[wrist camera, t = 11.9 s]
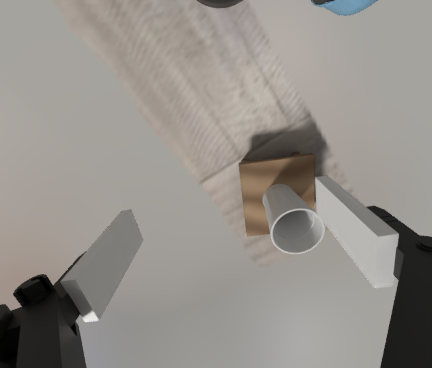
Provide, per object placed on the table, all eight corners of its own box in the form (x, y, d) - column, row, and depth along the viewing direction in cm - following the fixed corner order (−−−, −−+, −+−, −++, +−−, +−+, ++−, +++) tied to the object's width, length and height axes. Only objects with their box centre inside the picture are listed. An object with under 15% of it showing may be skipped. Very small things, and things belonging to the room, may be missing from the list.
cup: (293, 174, 43) (318, 200, 31) (303, 209, 45) (330, 245, 34) (253, 187, 44) (264, 218, 33) (265, 221, 46) (279, 260, 35)
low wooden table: (237, 157, 48) (239, 164, 42) (303, 148, 47) (314, 155, 41) (244, 221, 53) (247, 236, 48) (304, 215, 52) (313, 229, 47)
